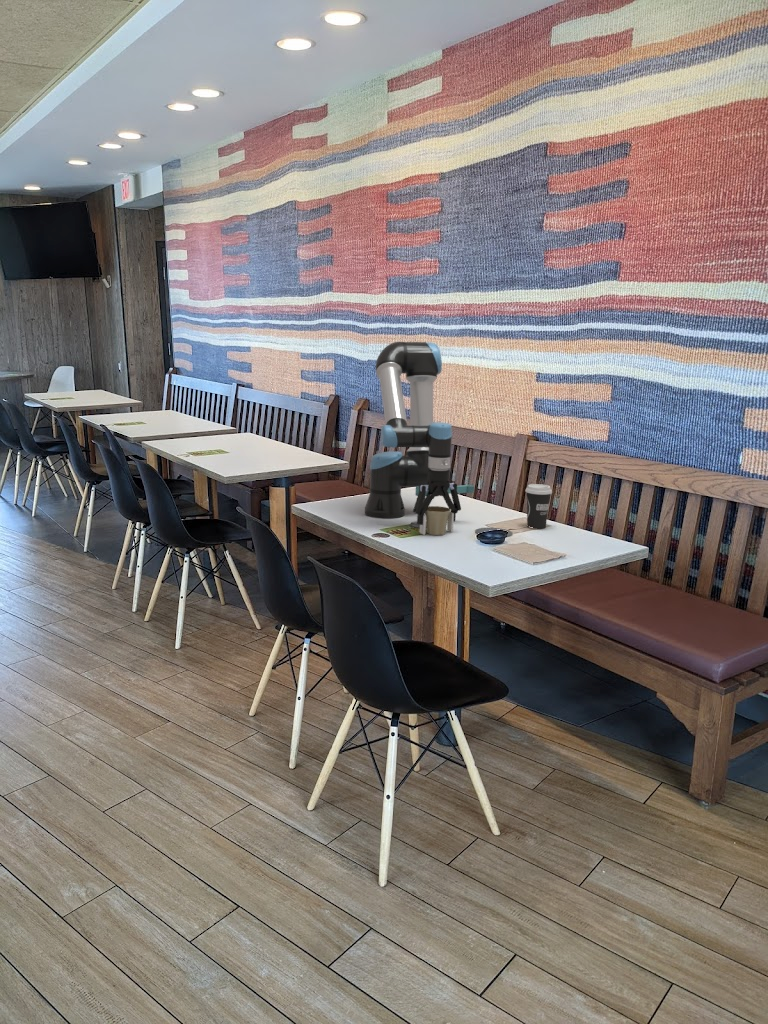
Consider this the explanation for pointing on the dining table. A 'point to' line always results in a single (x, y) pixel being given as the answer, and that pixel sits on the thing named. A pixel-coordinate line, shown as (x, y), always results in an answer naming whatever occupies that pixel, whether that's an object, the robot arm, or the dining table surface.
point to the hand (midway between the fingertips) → (436, 532)
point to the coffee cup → (537, 505)
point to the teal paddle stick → (459, 489)
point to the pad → (491, 529)
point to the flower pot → (437, 519)
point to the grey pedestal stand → (415, 524)
